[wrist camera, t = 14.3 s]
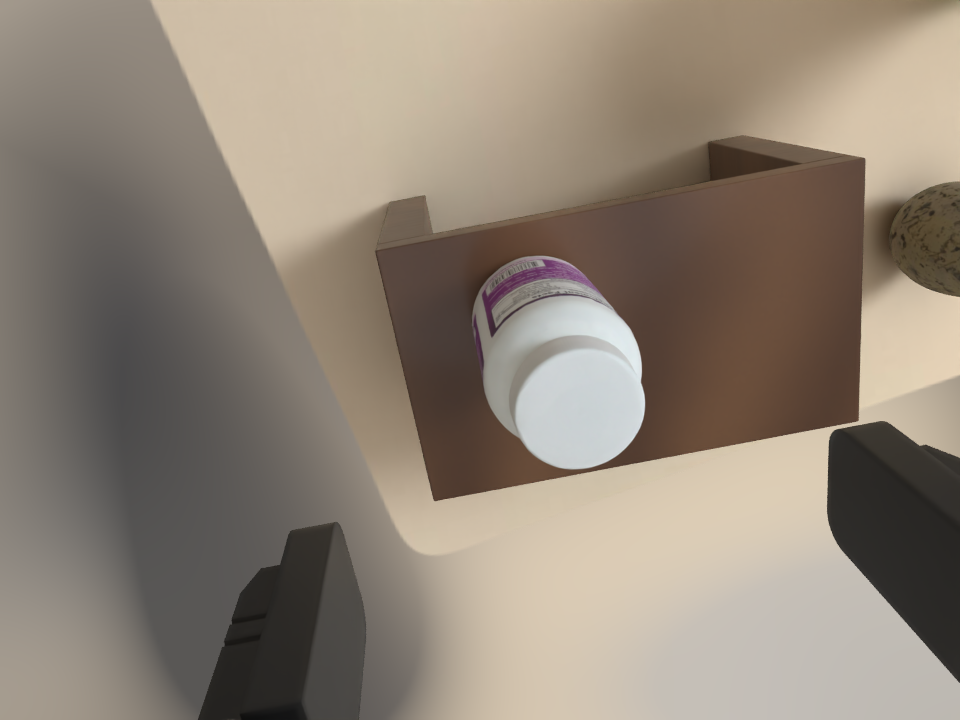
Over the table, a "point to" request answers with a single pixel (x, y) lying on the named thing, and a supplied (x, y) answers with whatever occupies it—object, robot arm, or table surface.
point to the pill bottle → (558, 363)
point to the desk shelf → (653, 308)
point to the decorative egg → (930, 238)
